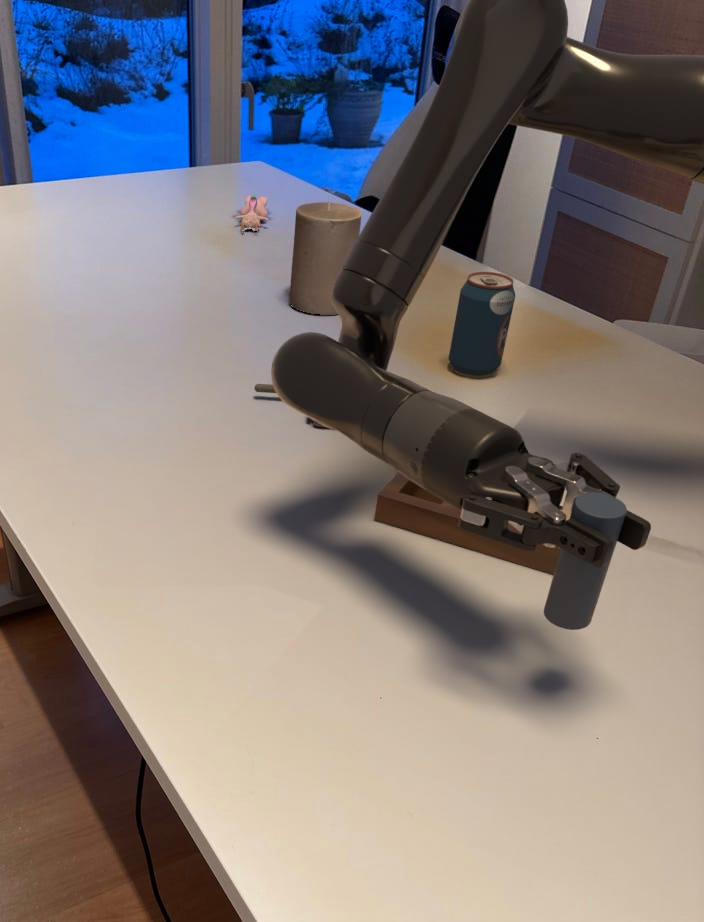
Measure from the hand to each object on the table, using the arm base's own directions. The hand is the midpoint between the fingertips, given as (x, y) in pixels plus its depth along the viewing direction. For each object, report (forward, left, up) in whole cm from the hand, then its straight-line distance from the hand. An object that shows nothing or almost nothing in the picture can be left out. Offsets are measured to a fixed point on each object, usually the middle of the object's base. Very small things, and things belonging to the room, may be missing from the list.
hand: (626, 545), depth 68 cm
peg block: (+15, -21, -15) cm, 29 cm away
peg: (+3, -1, -8) cm, 8 cm away
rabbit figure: (+87, -104, -15) cm, 136 cm away
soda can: (+29, -60, -15) cm, 68 cm away
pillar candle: (+57, -71, -15) cm, 92 cm away
